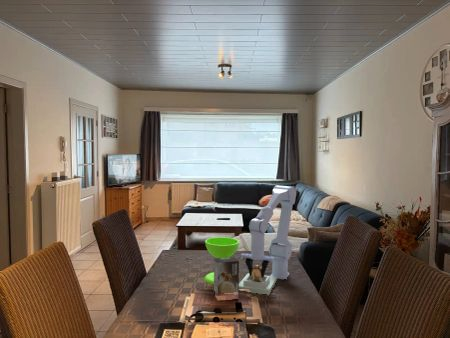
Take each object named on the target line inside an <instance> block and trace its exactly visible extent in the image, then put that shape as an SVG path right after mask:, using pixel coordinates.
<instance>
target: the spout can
mask: <svg viewBox="0 0 450 338" xmlns="http://www.w3.org/2000/svg"><path fill="white" fill-rule="evenodd" d="M251 281H255V282H262V266H260V265H259V264H255V265H254V266H252V267H251Z"/></svg>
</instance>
